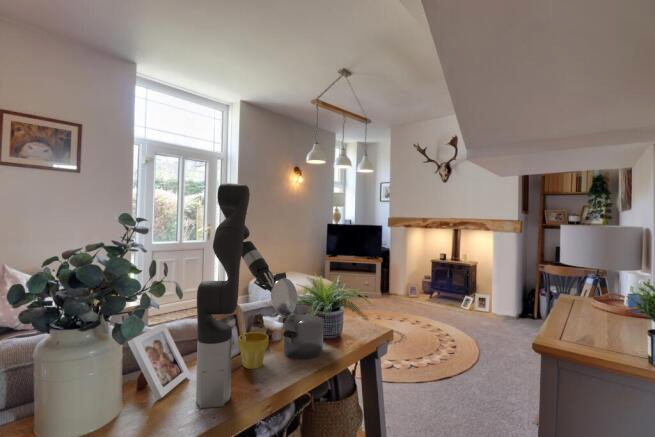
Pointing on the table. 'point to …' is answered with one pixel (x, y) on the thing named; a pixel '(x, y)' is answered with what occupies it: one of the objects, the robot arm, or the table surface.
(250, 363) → the plant pot
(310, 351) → the cooker pot
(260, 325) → the figurine
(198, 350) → the robot arm
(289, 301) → the cooker lid
